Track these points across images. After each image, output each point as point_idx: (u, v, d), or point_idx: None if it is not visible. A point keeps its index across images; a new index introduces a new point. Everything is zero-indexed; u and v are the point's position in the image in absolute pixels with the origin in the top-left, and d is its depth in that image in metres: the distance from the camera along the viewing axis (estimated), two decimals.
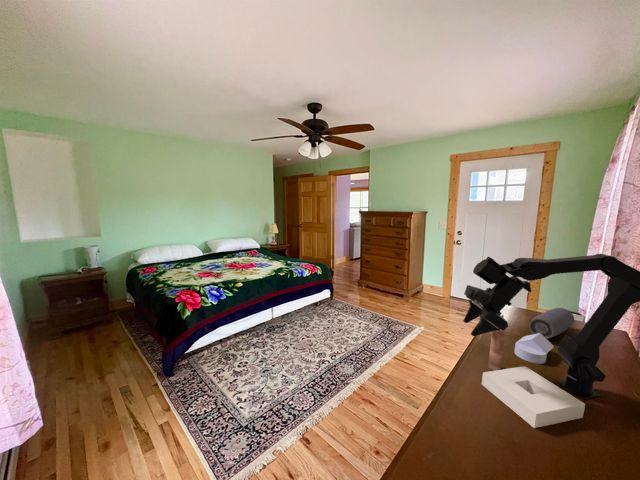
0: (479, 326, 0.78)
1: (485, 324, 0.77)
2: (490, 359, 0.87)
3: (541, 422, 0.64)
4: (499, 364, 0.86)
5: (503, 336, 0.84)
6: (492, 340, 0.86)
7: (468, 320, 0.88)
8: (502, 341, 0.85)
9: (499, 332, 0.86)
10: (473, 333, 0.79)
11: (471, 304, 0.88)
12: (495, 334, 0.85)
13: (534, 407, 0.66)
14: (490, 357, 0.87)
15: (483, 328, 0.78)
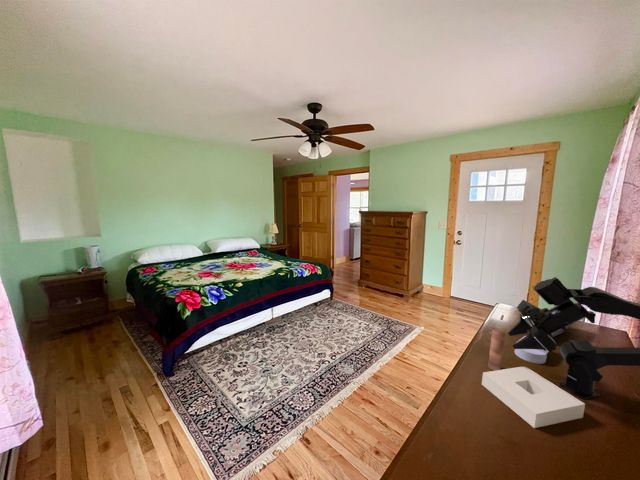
0: (524, 341, 0.78)
1: (531, 341, 0.77)
2: (490, 359, 0.87)
3: (541, 422, 0.64)
4: (499, 364, 0.86)
5: (503, 336, 0.84)
6: (492, 340, 0.86)
7: (513, 334, 0.88)
8: (502, 341, 0.85)
9: (499, 332, 0.86)
10: (515, 346, 0.80)
11: (521, 319, 0.87)
12: (495, 334, 0.85)
13: (534, 407, 0.66)
14: (490, 357, 0.87)
15: (528, 344, 0.78)
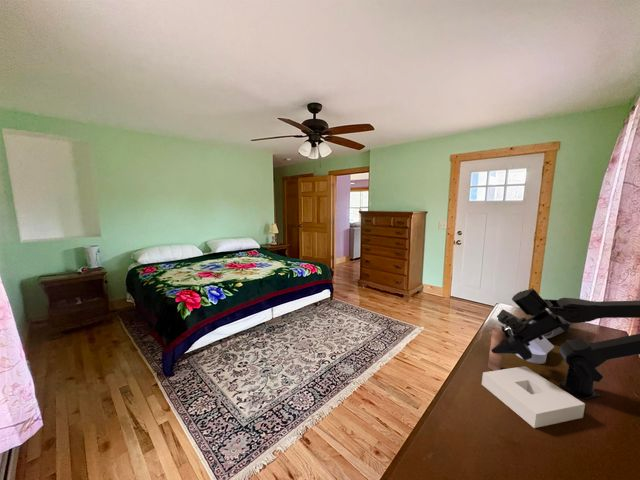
0: (501, 345, 0.83)
1: (507, 345, 0.82)
2: (490, 359, 0.87)
3: (541, 422, 0.64)
4: (499, 364, 0.86)
5: (503, 336, 0.84)
6: (492, 340, 0.86)
7: None
8: (502, 341, 0.85)
9: (499, 332, 0.86)
10: (493, 350, 0.85)
11: (503, 331, 0.87)
12: (495, 334, 0.85)
13: (534, 407, 0.66)
14: (490, 357, 0.87)
15: (504, 348, 0.83)
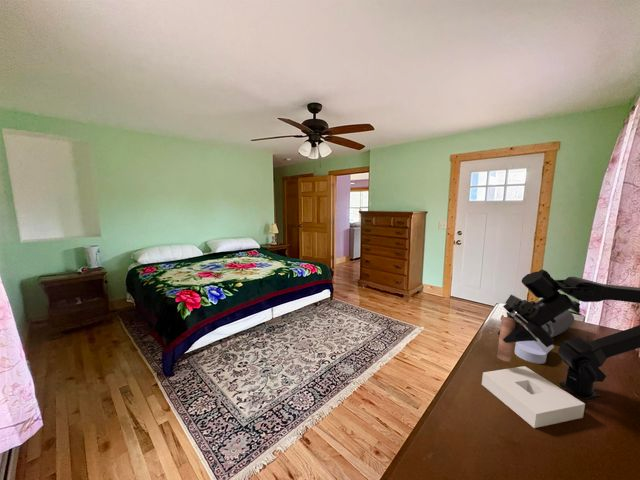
0: (515, 334, 0.77)
1: (521, 333, 0.77)
2: (501, 349, 0.81)
3: (541, 422, 0.64)
4: (510, 353, 0.80)
5: (514, 323, 0.78)
6: (503, 329, 0.80)
7: None
8: (514, 329, 0.79)
9: (509, 319, 0.80)
10: (506, 339, 0.79)
11: None
12: (507, 322, 0.79)
13: (534, 407, 0.66)
14: (501, 347, 0.81)
15: (518, 336, 0.77)
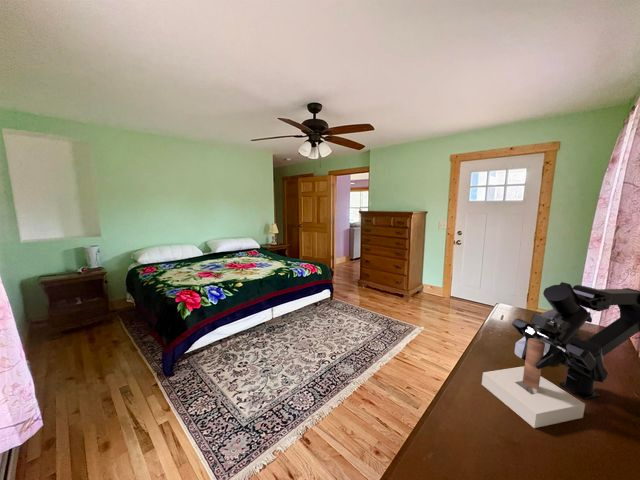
0: (549, 358, 0.68)
1: None
2: (531, 377, 0.71)
3: (541, 422, 0.64)
4: (539, 379, 0.71)
5: None
6: (533, 353, 0.70)
7: None
8: (543, 351, 0.70)
9: (537, 341, 0.71)
10: (539, 366, 0.69)
11: (532, 337, 0.74)
12: (538, 346, 0.69)
13: (534, 407, 0.66)
14: (531, 374, 0.71)
15: (551, 360, 0.69)
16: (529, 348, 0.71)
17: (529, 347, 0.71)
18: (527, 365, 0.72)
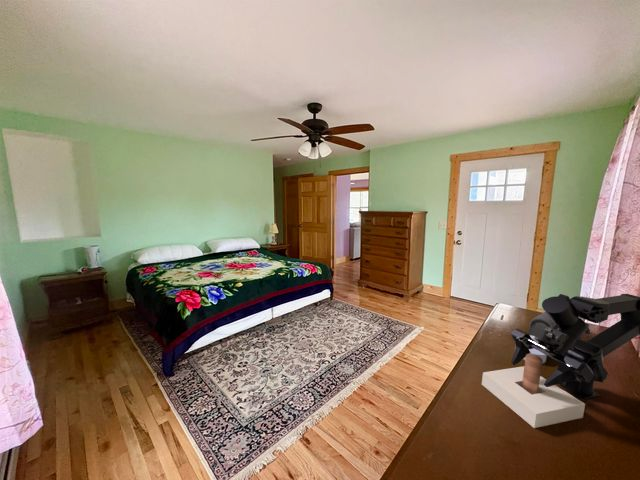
0: (558, 376, 0.66)
1: None
2: None
3: (541, 422, 0.64)
4: None
5: None
6: (531, 370, 0.71)
7: (516, 362, 0.77)
8: (541, 367, 0.71)
9: (535, 357, 0.72)
10: (548, 384, 0.67)
11: (521, 344, 0.77)
12: (536, 362, 0.70)
13: (534, 407, 0.66)
14: (528, 390, 0.72)
15: (560, 378, 0.67)
16: (527, 364, 0.72)
17: (527, 363, 0.72)
18: (525, 381, 0.73)
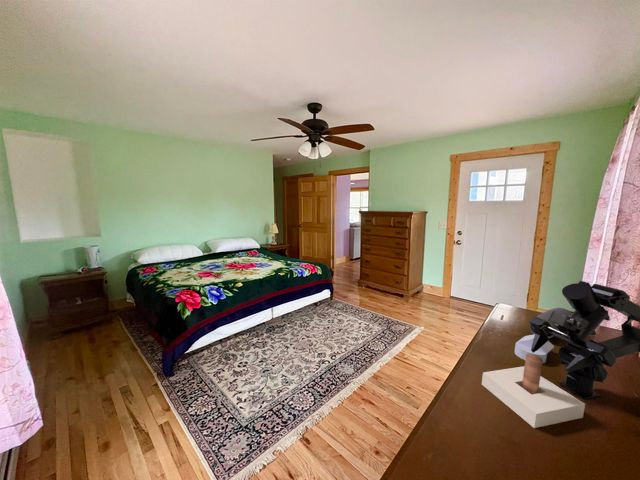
0: (580, 361, 0.67)
1: None
2: None
3: (541, 422, 0.64)
4: None
5: None
6: (531, 370, 0.71)
7: (536, 349, 0.78)
8: None
9: (535, 357, 0.72)
10: (570, 369, 0.68)
11: (541, 331, 0.78)
12: (536, 362, 0.70)
13: (534, 407, 0.66)
14: (528, 390, 0.72)
15: (582, 363, 0.68)
16: (527, 364, 0.72)
17: (527, 363, 0.72)
18: (525, 381, 0.73)
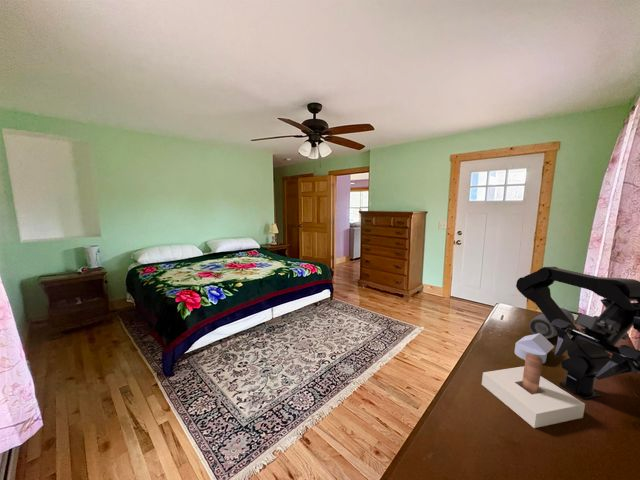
0: (612, 368, 0.61)
1: None
2: None
3: (541, 422, 0.64)
4: None
5: None
6: (531, 370, 0.71)
7: (560, 354, 0.72)
8: None
9: (535, 357, 0.72)
10: (600, 376, 0.62)
11: (565, 334, 0.72)
12: (536, 362, 0.70)
13: (534, 407, 0.66)
14: (528, 390, 0.72)
15: (614, 370, 0.62)
16: (527, 364, 0.72)
17: (527, 363, 0.72)
18: (525, 381, 0.73)
